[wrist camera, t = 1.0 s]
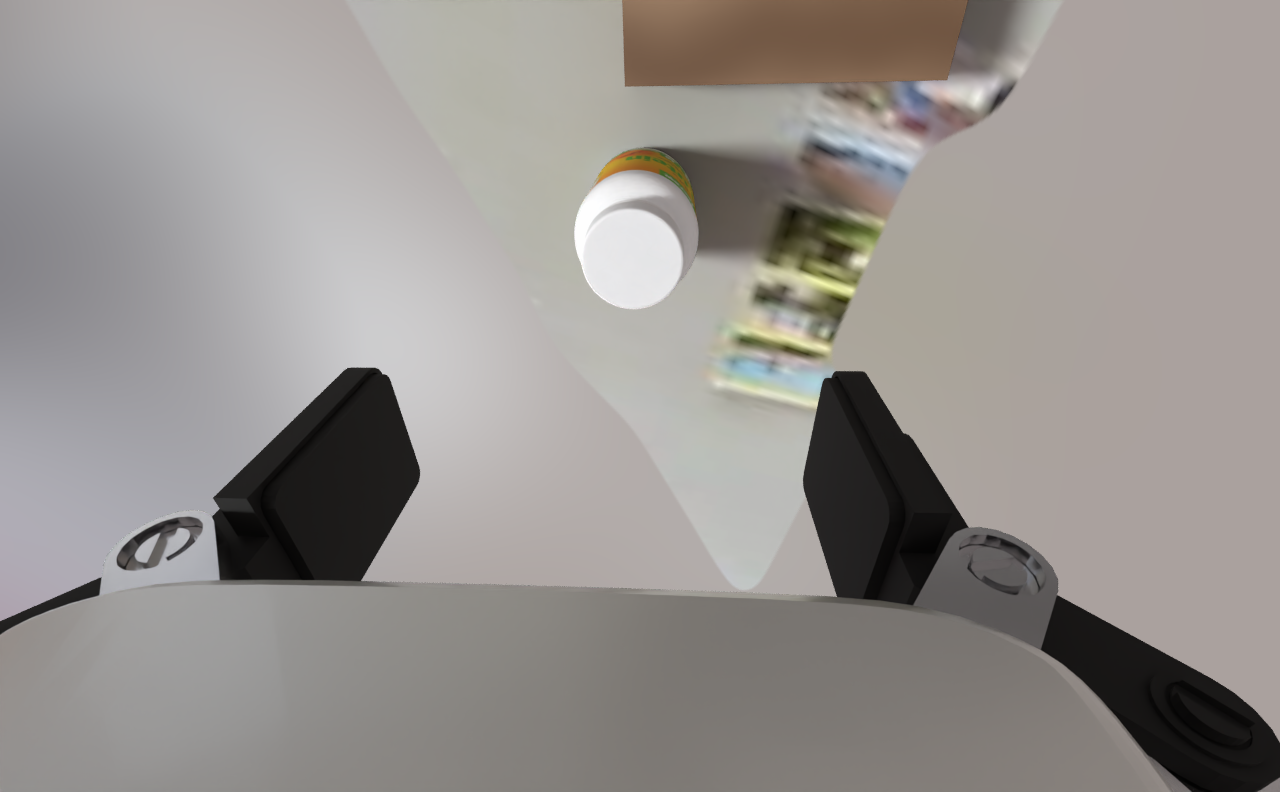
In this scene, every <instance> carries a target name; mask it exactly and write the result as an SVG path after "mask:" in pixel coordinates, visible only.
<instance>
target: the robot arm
mask: <svg viewBox="0 0 1280 792" xmlns="http://www.w3.org/2000/svg"><path fill="white" fill-rule="evenodd" d="M419 478H420V469H419V465H418V462H417V459H416V456H415V453H414V450H413V447H412V444H411V441H410V438H409V435H408V432H407V429H406V426H405V423H404V420H403V417H402V414H401V411H400V408H399V405H398V402H397V399H396V396H395V393H394V390H393V387H392V384H391V381H390V379H389V377H388V376H387V375H384V374H382V373H381V371H380V370H379V369H377V368H347V369H346V370H344V371H343V372H342V373H341V374H340V375H339V376H338V377H337V378H336V379H335V380H334V381H333V382H332V383H331V384H330V385H329V386H328V387H327V388H326V389H325V390H324V391H323V392H322V393H321V394H320V395H319V396H318V397H316V398H315V399H314V400H313V402H311V404H309V405H308V406H307V407H306V408H305V409H304V410H303V411H302V412H301V413H300V414H299V415H298V416H297V417H296V418H295V419H294V420H293V421H292V422H291V423H290V424H289V425H288V426H287V427H286V428H285V429H284V430H282V432H281V433H279V435H277V436H276V437H275V438H274V439H273V440H272V441H271V442H270V443H269V444H268V445H267V446H266V447H265V448H264V449H263V450H262V451H261V452H260V453H259V454H258V455H257V456H256V457H255V458H254V459H253V460H252V461H251V462H250V463H248V465H246V466H245V467H244V468H243V469H242V470H241V471H240V472H239V473H238V474H237V475H236V476H235V477H234V478H233V479H232V480H231V481H230V482H229V483H228V484H227V485H226V486H225V487H224V488H223V489H222V490H221V491H220V492H219V493H218V494H217V495H216V496H214V497H213V499H214V500H215V502H216V503H217V505H218V507H219V508H220V509H219V510H218V511H217V512H216V513H215V514H214V515H213V516H211V515H210V514H208V513H206V512H204V511H198V510H188V511H181V512H175V513H172V514H169V515H165V516H162V517H160V518H157V519H155V520H153V521H150V522H148V523H146V524H144V525H142V526H141V527H139V528H137V529H136V530H134V531H133V532H131V533H129V534H128V535H127V536H126V537H124V538H123V539H122V540H121V541H119V542H118V543H117V544H116V545H115V546H114V547H113V549H112V550H111V551H110V552H109V553H108V555H107V557H106V559H105V562H104V564H103V571H102V577H101V578H98V579H96V580H94V581H91V582H89V583H87V584H85V585H83V586H81V587H78V588H75V589H73V590H71V591H69V592H66V593H64V594H62V595H60V596H57V597H55V598H53V599H50V600H48V601H46V602H44V603H41V604H39V605H37V606H34V607H32V608H30V609H27V610H25V611H23V612H21V613H18V614H16V615H14V616H12V617H9V618H7V619H5V620H2V621H0V792H1280V742H1279V741H1278V739H1277V737H1276V736H1275V734H1274V732H1273V730H1272V729H1271V728H1270V727H1269V726H1268V724H1267V723H1266V722H1265V721H1264V720H1263V719H1262V718H1261V717H1260V715H1259V714H1258V713H1257V712H1256V711H1255V710H1254V709H1253V708H1252V707H1250V706H1249V705H1248V704H1247V703H1246V702H1244V701H1243V700H1242V699H1241V698H1240V697H1238V696H1237V695H1236V694H1235V693H1233V692H1232V691H1230V690H1229V689H1227V688H1226V687H1224V686H1222V685H1221V684H1219V683H1218V682H1216V681H1215V680H1213V679H1211V678H1209V677H1208V676H1206V675H1204V674H1202V673H1200V672H1198V671H1197V670H1195V669H1193V668H1191V667H1189V666H1187V665H1185V664H1184V663H1182V662H1180V661H1178V660H1176V659H1174V658H1173V657H1170V656H1169V655H1167V654H1165V653H1163V652H1161V651H1160V650H1158V649H1156V648H1154V647H1152V646H1150V645H1148V644H1147V643H1145V642H1143V641H1141V640H1139V639H1137V638H1136V637H1134V636H1131V635H1130V634H1128V633H1126V632H1124V631H1123V630H1121V629H1119V628H1117V627H1115V626H1113V625H1111V624H1110V623H1108V622H1106V621H1104V620H1102V619H1100V618H1098V617H1097V616H1095V615H1093V614H1091V613H1089V612H1087V611H1086V610H1084V609H1082V608H1080V607H1078V606H1076V605H1074V604H1073V603H1071V602H1069V601H1067V600H1065V599H1063V598H1062V597H1060V596H1058V595H1057V593H1058V578H1057V576H1056V574H1055V572H1054V570H1053V568H1052V566H1051V565H1050V564H1049V563H1048V562H1047V561H1046V559H1045V558H1044V557H1043V556H1042V555H1041V554H1040V553H1039V552H1037V551H1036V550H1035V549H1033V548H1032V547H1031V546H1030V545H1028V544H1027V543H1025V542H1023V541H1021V540H1019V539H1017V538H1016V537H1014V536H1012V535H1009V534H1006V533H1003V532H1001V531H998V530H993V529H988V528H982V527H975V528H969V527H968V526H967V524H966V523H965V521H964V519H963V518H962V516H961V515H960V513H959V511H958V510H957V509H956V507H955V505H954V504H953V502H952V500H951V499H950V497H949V496H948V494H947V493H946V491H945V489H944V488H943V486H942V485H941V483H940V482H939V480H938V478H937V477H936V475H935V474H934V472H933V471H932V469H931V467H930V466H929V464H928V463H927V461H926V460H925V458H924V456H923V455H922V453H921V452H920V450H919V448H918V447H917V445H916V444H915V442H914V441H913V439H912V438H911V437H910V436H909V435H907V434H904V433H903V432H902V431H901V429H900V427H899V426H898V424H897V423H896V421H895V419H894V418H893V416H892V415H891V413H890V411H889V410H888V408H887V406H886V405H885V403H884V402H883V400H882V399H881V397H880V395H879V394H878V392H877V390H876V389H875V387H874V385H873V384H872V382H871V381H870V379H869V377H868V376H867V374H866V373H865V372H861V371H854V372H853V371H836V372H834V374H833V375H832V378H825V379H824V381H823V383H822V388H821V392H820V397H819V402H818V407H817V412H816V417H815V421H814V426H813V431H812V436H811V441H810V446H809V451H808V455H807V460H806V465H805V470H804V476H803V486H804V492H805V495H806V498H807V501H808V505H809V508H810V511H811V514H812V518H813V521H814V524H815V527H816V530H817V534H818V537H819V540H820V543H821V546H822V550H823V553H824V556H825V559H826V563H827V566H828V569H829V572H830V576H831V579H832V582H833V585H834V588H835V592H836V594H837V597H828V596H810V595H789V594H766V593H747V592H716V591H688V590H660V589H630V588H628V589H627V588H599V587H597V588H596V587H565V586H564V587H563V586H562V587H561V586H530V585H527V586H526V585H495V584H494V585H493V584H492V585H491V584H459V583H417V582H415V583H413V582H373V581H370V582H369V581H361V580H362V578H363V576H364V575H365V573H366V571H367V570H368V568H369V566H370V565H371V563H372V561H373V559H374V558H375V556H376V554H377V553H378V551H379V549H380V547H381V546H382V544H383V542H384V541H385V539H386V537H387V535H388V534H389V532H390V530H391V528H392V527H393V525H394V524H395V522H396V520H397V518H398V517H399V515H400V513H401V512H402V510H403V508H404V507H405V505H406V503H407V501H408V500H409V498H410V496H411V495H412V493H413V491H414V489H415V488H416V486H417V484H418V482H419Z"/></svg>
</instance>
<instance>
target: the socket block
mask: <svg viewBox="0 0 1280 792" xmlns="http://www.w3.org/2000/svg"><path fill="white" fill-rule="evenodd" d="M622 3H623V36H624V69H625V86H674V85H725V84H775V83H826V82H876V81H927V80H947V79H948V75H949V71H950V67H951V63H952V60H953V56H954V52H955V48H956V44H957V41H958V37H959V33H960V29H961V25H962V22H963V18H964V14H965V10H966V7H967V3H968V0H622Z"/></svg>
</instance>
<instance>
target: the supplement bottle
mask: <svg viewBox="0 0 1280 792" xmlns="http://www.w3.org/2000/svg"><path fill="white" fill-rule="evenodd" d="M574 236H575V245H576V250H577V254H578V257H579V260H580V262H581V264H582V268H583V272H584V275H585V278H586V280H587V282H588V284H589V285H590V287H591V288H592V289H593V291H594V292H595V293H596V294H597V295H598V296H600V297H601V298H602V299H604V300H605V301H606V302H608V303H610V304H612V305H614V306H617V307H621V308H625V309H642V308H647V307H650V306H653V305H655V304H657V303H659V302H661V301H662V300H664V299H665V298H666V297H667V296H668V295H669V294H670V293H671V292H672V291H673V290H674V289H675V287H676V286H677V284H678V282H679V281H680V280H681V279H682V278H683V277H684V276H685V275H686V273H687V272H688V270H689V269H690V267H691V265H692V263H693V261H694V258H695V256H696V252H697V248H698V237H699V229H698V221H697V216H696V209H695V203H694V195H693V190H692V187H691V183H690V181H689V178H688V176H687V174H686V173H685V171H684V170H683V168H682V167H681V166H680V165H679V163H678V162H677V161H675V160H674V159H673V158H672V157H670V156H669V155H667V154H665V153H663V152H661V151H659V150H655V149H651V148H635V149H630V150H627V151H624V152H622V153H620V154H618V155H617V156H615V157H614V158H613V159H611V160H610V161H609V162H608V163H607V164H606V166H605V167H604V168H603V169H602V171H601V172H600V174H599V175H598V177H597V179H596V181H595V182H594V184H593V186H592V187H591V189H590V191H589V192H588V194H587V195H586V197H585V199H584V200H583V202H582V204H581V206H580V209H579V211H578V214H577V218H576V222H575V230H574Z"/></svg>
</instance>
